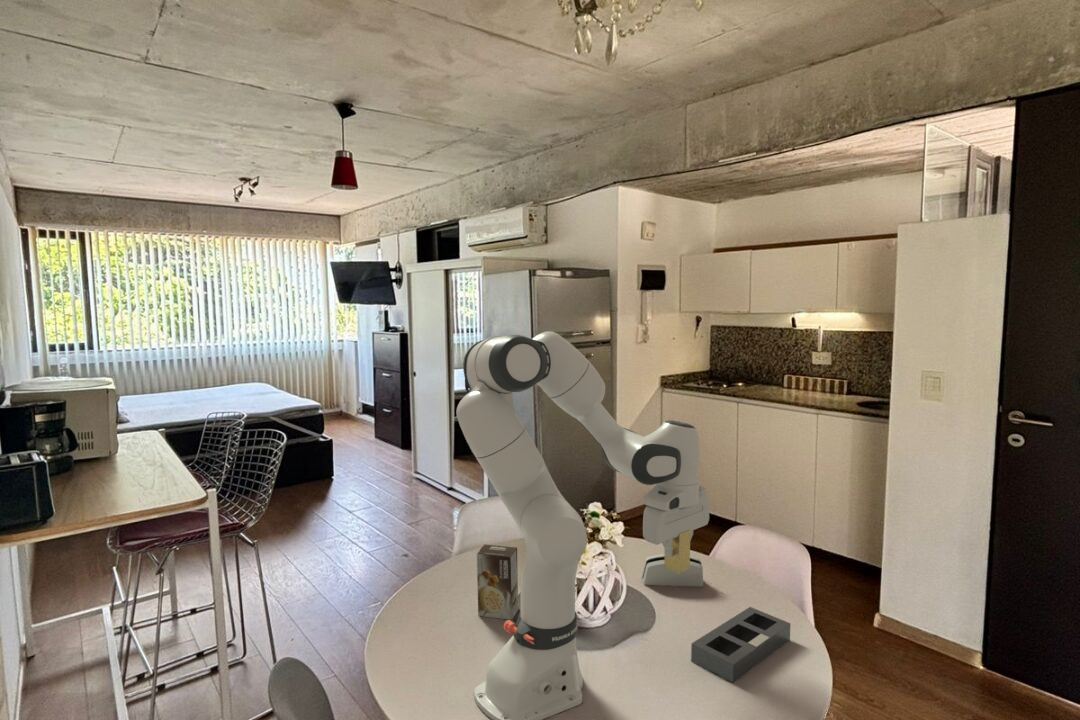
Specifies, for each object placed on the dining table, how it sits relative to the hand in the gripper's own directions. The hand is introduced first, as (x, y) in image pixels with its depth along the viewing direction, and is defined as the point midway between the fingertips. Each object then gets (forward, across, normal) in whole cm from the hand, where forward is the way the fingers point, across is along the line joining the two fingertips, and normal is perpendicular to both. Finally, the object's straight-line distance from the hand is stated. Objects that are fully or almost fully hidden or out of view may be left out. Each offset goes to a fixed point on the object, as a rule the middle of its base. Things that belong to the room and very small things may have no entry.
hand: (677, 552), depth 133 cm
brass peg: (+4, 0, 0) cm, 4 cm away
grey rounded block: (+21, -23, -18) cm, 36 cm away
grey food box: (+21, +23, -37) cm, 48 cm away
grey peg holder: (+21, -8, +12) cm, 25 cm away
